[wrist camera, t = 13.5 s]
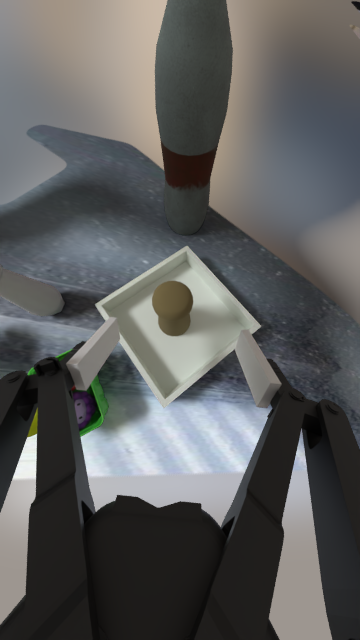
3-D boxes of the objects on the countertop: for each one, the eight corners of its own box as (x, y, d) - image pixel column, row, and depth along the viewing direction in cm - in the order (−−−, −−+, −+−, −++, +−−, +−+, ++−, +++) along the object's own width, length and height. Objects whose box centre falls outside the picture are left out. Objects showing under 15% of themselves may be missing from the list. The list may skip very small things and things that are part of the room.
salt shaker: (60, 286, 31) (-20, 234, 18) (74, 307, 30) (-1, 267, 17) (33, 303, 30) (-73, 260, 17) (46, 325, 29) (-57, 297, 16)
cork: (194, 332, 28) (204, 314, 17) (161, 339, 27) (150, 325, 17) (186, 302, 29) (191, 268, 19) (155, 308, 29) (142, 277, 18)
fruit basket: (119, 411, 25) (75, 449, 14) (66, 440, 24) (-27, 506, 13) (96, 348, 28) (43, 339, 17) (47, 372, 27) (-44, 379, 16)
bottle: (197, 242, 34) (310, -443, 5) (159, 230, 35) (66, -429, 6) (210, 212, 36) (337, -376, 7) (174, 201, 37) (161, -373, 8)
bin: (105, 311, 29) (94, 304, 26) (186, 259, 33) (187, 245, 29) (165, 401, 26) (163, 408, 22) (250, 331, 29) (261, 326, 25)
